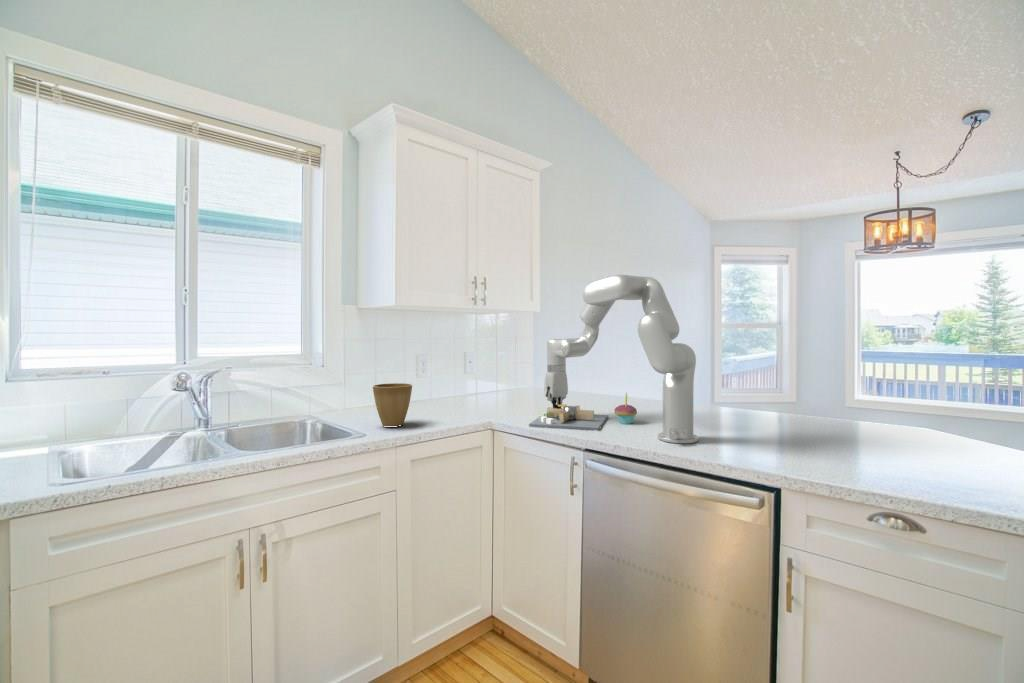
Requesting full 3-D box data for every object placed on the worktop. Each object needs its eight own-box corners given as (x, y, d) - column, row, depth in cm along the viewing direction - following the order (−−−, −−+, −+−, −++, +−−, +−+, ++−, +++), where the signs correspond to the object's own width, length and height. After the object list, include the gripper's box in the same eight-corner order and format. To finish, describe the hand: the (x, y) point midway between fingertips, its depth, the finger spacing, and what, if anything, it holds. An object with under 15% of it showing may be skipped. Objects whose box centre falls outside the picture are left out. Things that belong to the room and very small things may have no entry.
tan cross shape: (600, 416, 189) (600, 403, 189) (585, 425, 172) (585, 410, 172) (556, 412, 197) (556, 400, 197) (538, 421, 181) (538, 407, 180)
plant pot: (407, 429, 173) (407, 387, 173) (368, 430, 174) (367, 387, 173) (416, 421, 188) (416, 382, 188) (380, 422, 189) (379, 382, 188)
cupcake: (639, 425, 177) (639, 393, 177) (616, 425, 177) (616, 393, 177) (633, 420, 186) (633, 390, 185) (612, 420, 186) (612, 390, 186)
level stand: (598, 430, 168) (598, 422, 168) (529, 426, 177) (529, 419, 177) (607, 417, 193) (607, 410, 193) (546, 414, 201) (546, 407, 201)
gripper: (560, 367, 198) (561, 410, 198) (537, 370, 187) (538, 415, 188) (575, 368, 193) (575, 412, 193) (551, 370, 182) (552, 417, 182)
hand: (557, 413), depth 190 cm, fingers closed
